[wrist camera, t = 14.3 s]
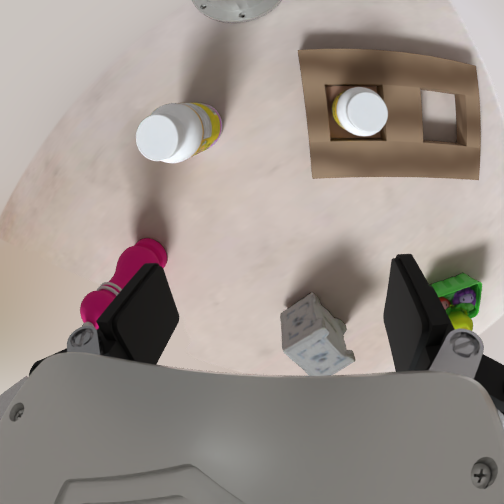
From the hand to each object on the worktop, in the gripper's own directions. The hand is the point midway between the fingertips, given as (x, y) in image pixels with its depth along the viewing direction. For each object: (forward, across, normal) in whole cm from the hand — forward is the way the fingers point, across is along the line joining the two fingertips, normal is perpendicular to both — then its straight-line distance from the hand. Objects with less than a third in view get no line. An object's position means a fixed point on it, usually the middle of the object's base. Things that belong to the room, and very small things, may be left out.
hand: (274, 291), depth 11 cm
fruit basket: (+29, -25, +23) cm, 44 cm away
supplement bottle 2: (+28, -8, -6) cm, 30 cm away
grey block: (+29, -2, +26) cm, 39 cm away
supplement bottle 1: (+28, +12, -6) cm, 32 cm away
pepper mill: (+28, +25, +13) cm, 40 cm away
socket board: (+28, -14, -6) cm, 32 cm away
